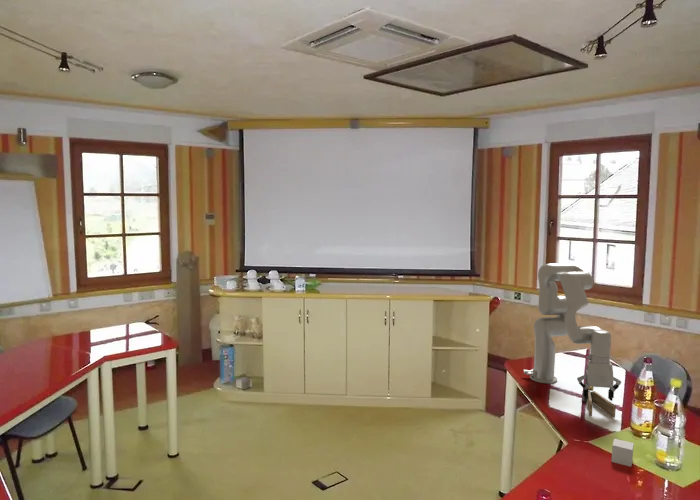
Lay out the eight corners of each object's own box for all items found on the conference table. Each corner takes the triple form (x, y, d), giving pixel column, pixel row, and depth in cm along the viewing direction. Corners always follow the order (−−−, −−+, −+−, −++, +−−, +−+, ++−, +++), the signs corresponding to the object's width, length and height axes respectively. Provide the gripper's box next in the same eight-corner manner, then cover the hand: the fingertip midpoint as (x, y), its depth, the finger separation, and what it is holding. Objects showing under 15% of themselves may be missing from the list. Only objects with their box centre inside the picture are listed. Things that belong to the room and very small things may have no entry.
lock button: (587, 390, 226) (587, 386, 226) (585, 388, 229) (585, 383, 229) (594, 390, 226) (594, 386, 226) (592, 388, 228) (592, 384, 228)
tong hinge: (583, 402, 227) (584, 392, 226) (582, 399, 230) (582, 390, 229) (596, 402, 226) (596, 393, 226) (594, 400, 229) (594, 390, 228)
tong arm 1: (589, 415, 211) (590, 404, 210) (586, 401, 226) (587, 390, 226) (592, 416, 211) (592, 404, 210) (589, 401, 226) (589, 391, 225)
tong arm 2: (612, 417, 209) (613, 405, 209) (592, 402, 226) (592, 391, 225) (615, 417, 209) (615, 405, 209) (594, 402, 226) (594, 391, 225)
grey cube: (611, 462, 174) (612, 445, 174) (613, 454, 179) (614, 438, 179) (631, 467, 171) (632, 449, 170) (632, 459, 176) (633, 443, 175)
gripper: (580, 360, 213) (579, 400, 214) (625, 363, 210) (623, 403, 211) (575, 355, 220) (574, 394, 222) (618, 358, 218) (616, 397, 219)
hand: (598, 398), depth 216 cm, fingers open, 9 cm apart
